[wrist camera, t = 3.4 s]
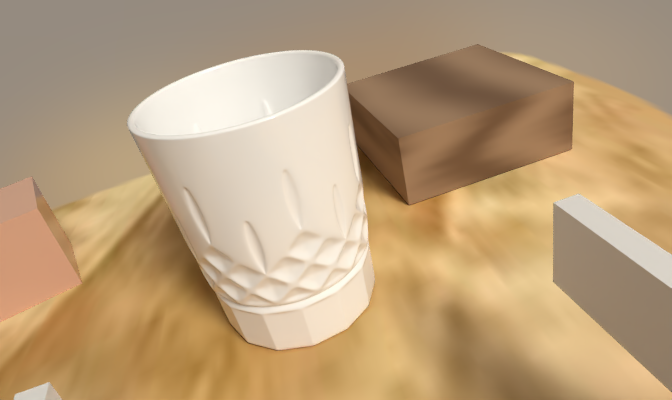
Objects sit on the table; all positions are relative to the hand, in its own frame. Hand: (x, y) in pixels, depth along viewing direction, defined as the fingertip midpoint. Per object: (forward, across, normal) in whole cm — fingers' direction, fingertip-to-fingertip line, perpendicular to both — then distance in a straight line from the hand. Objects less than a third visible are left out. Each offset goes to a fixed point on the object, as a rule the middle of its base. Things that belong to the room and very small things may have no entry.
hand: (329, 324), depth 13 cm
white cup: (+9, 0, -6) cm, 11 cm away
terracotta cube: (+18, -14, -6) cm, 24 cm away
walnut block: (+18, +12, -6) cm, 22 cm away
